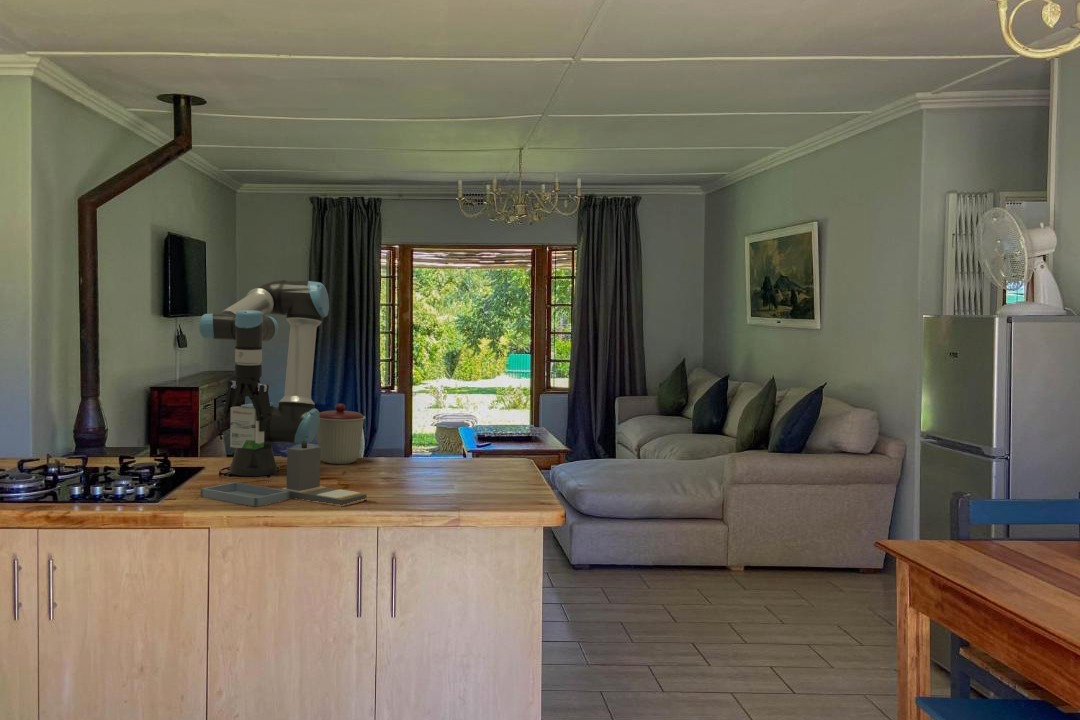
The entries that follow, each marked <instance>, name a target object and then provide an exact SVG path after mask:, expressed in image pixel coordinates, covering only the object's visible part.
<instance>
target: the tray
mask: <svg viewBox="0 0 1080 720" xmlns="http://www.w3.org/2000/svg"><path fill="white" fill-rule="evenodd" d="M280 489H281V488H274V487H273V488H272V487H267V486H262V485H255V484H249V483H245V482H237V481H233V482H229V483H223V484H217V485H213V486H207V487H201V488H200V498H204V499H210V500H213V501H214V500H215V501H220V502H227V503H232V504H237V505H242V504H243V505H242V506H247V505H248V506H249V507H253V506H255V507H254V508H258V507H257V506H259V507H261V506H260V505H263V506H266V505H265V504H268V505H270V504H269V503H272V504H275V502H276V503H280V502H279V501H281V502H285V501H288V500H287V499H291V498H290V491H286V490H280ZM284 500H285V501H284Z"/></svg>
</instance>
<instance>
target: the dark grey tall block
mask: <svg viewBox="0 0 1080 720" xmlns="http://www.w3.org/2000/svg"><path fill="white" fill-rule="evenodd" d="M286 450H287V452H286V453H287V454H286V455H287V457H286V458H287V459H286V486H285V488H286V489H290V490H296V491H301V490H306V489H311V488H315V487H320V486H321V483H320V482H321V447H318V446H314V445H308V443H307V441H302V444H301V446H296V447H291V448H287V449H286Z"/></svg>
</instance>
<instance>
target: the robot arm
mask: <svg viewBox="0 0 1080 720" xmlns="http://www.w3.org/2000/svg"><path fill="white" fill-rule="evenodd" d="M329 312H330V300H329V294H328V290H327V288H326V287H325V285H324V284H323V283H322V282H318V281H312V280H305V281H304V280H283V279H282V280H281V279H280V280H279V279H278V280H273V281H268V282H266V283H262V284H261V285H258V286H256V287H254V288H252V289H250V290H249V291H248V292H247V294H246V296H244V297H242V298H241V299H240V300H239V301H237V302H235V303H233V304H232V305H230V306H228V307H226V308H225V309H224V310H221V311H220V312H218V313H204V314H203V315H202V316H201V317H200V320H199V325H198V327H199V332H200V336H201V337H202V338H204V339H209V340H210V339H211V340H213V341H214V340H228V341H229V340H230V341H235V343H234V344H235V346H234V362H235V365H234V377H235V378H236V379H235V380H229V381H228V382H227V393H226V394H227V395H226V399H225V404H224V410H223V414H225V415H228V417H229V423H228V424H229V425H228V426H229V427H230V422H231V408H232V407H236V406H247V407H254V409H255V410H256V415H257V418H258V419H257V421H256V435H255V443H262V442H264V447H262V448H258V449H246V448H235V451H234V454H233V457H232V460H231V463H230V465H229V473H230V474H231V475H236V476H240V477H241V476H242V477H260V476H270V475H271V476H272V475H275V474H277V472H278V465H277V463H276V459H275V455H274V451H273V443H281V444H282V443H283V444H295V445H300V444H301V445H302V441H307V444H310V443H312V441H314V439H315V437H317V431H318V428H319V423H320V417H319V416H320V411H319V410H318V409H317V408H315V405H316V404H315V402H314V401H313V399H312V389H313V388H312V386H313V377H314V376H313V374H314V362H315V351H316V339H317V329H318V327H319V326H320V325H321V324H322V321H323V318H325V317H327V316H328V315H329ZM271 315H279V316H280V315H281V316H286V318H285V319H286V322H288V324H289V325H290V326H289V328H290V329H289V336H288V337H289V338H288V348H287V362H286V371H285V382H284V383H285V384H284V394H283V395H284V396H282V398H281V399H280V400H279V401H278V406H275V405H274V402H273V401H270V397H269V387H270V386H269V384H267V383H266V384H263V383H261V380H260V379H261V377H262V372H263V369H262V368H263V367H262V364H261V363H262V362H263V342H269V341H270V340H273V339H274V338H275V337H277V335H278V332H279V323H278V322H277V319H275V318H274V317H273V316H271ZM246 397H248V398H249V400H250V401H251V403H247V404H246V403H245V404H243V402H244V400H245V398H246ZM261 415H262V416H261Z"/></svg>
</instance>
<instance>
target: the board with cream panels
mask: <svg viewBox="0 0 1080 720" xmlns="http://www.w3.org/2000/svg"><path fill="white" fill-rule="evenodd" d="M279 489H280V490H286V491H290V499H293V498H297V499H296V500H298V499H304V500H310V501H319V502H326V503H333V504H340V505H343V504H347V503H350V502H353V501H357V500H361V499H365V498H366V499H367V495H368V494H367V493H363V492H359V491H353V490H346V489H337V488H336V489H335V488H330V487H328V486H323V485H320V487H315V488H311V489H306V490H301V491H296V490H290V489H286V487H283V488H279ZM304 500H303V501H304ZM310 501H309V502H310Z"/></svg>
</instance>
